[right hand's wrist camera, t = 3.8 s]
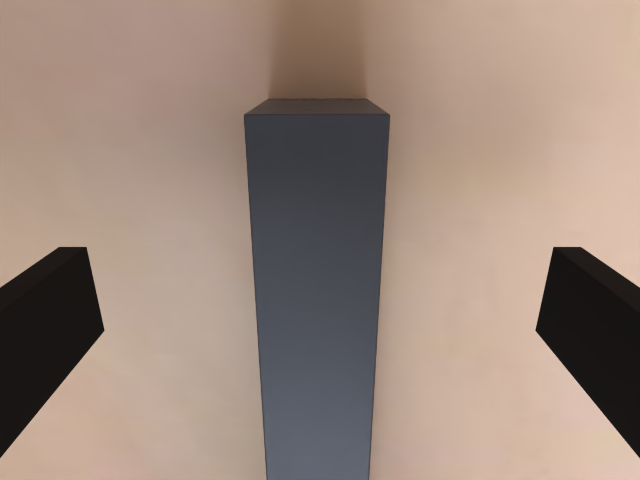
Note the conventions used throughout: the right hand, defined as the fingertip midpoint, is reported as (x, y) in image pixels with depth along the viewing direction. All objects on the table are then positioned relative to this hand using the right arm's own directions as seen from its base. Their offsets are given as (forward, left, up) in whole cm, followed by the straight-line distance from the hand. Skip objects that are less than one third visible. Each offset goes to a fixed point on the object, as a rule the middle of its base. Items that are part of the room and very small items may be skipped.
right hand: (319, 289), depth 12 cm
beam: (+33, +7, -12) cm, 35 cm away
